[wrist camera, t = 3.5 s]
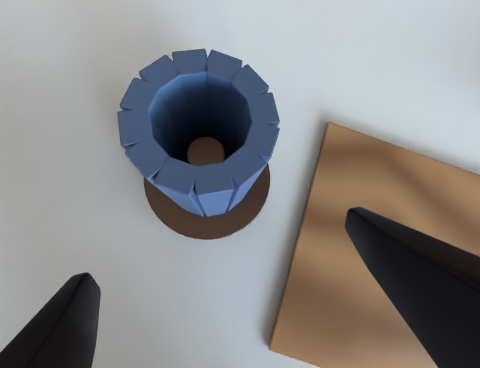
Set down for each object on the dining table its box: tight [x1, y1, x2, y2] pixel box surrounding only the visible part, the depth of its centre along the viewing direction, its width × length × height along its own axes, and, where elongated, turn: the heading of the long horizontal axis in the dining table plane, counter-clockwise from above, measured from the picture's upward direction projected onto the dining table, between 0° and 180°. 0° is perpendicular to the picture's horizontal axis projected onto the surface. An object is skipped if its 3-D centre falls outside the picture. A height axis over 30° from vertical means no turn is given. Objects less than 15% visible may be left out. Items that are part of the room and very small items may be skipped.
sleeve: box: [117, 49, 280, 217], centre depth 13 cm, size 6×6×8 cm
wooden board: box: [269, 122, 480, 368], centre depth 20 cm, size 20×18×1 cm
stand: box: [144, 137, 270, 240], centre depth 16 cm, size 9×9×8 cm
